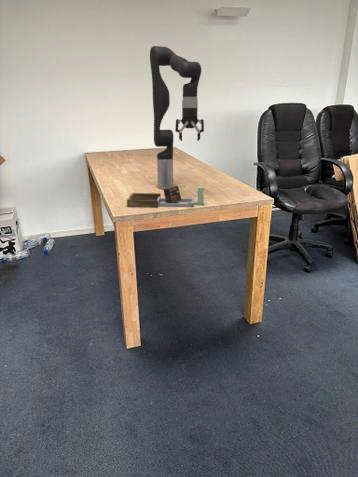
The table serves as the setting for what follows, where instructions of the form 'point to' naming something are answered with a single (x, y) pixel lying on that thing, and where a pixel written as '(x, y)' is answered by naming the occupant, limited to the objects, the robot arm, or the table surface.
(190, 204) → the pull frame
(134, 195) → the dark brown tray
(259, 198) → the table surface
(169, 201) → the box
